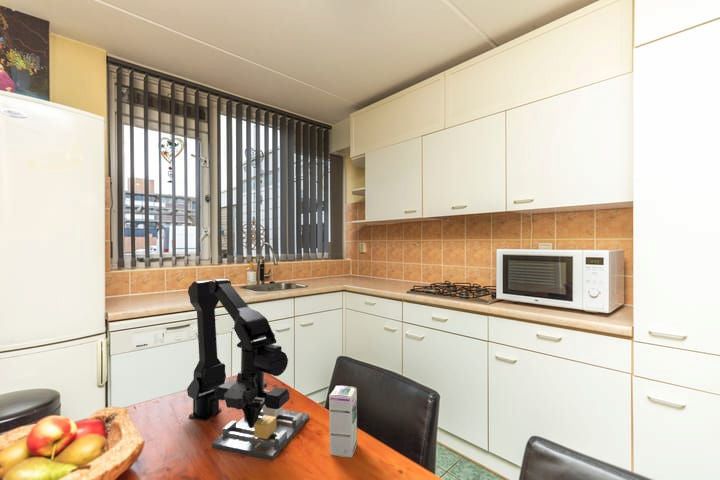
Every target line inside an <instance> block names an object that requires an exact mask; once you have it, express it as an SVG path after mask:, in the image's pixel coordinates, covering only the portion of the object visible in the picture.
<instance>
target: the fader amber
mask: <svg viewBox="0 0 720 480" xmlns="http://www.w3.org/2000/svg"><path fill="white" fill-rule="evenodd" d="M275 430H276V417H273V416H267V415H264V416H263V417H261V418H260V419H259V420H258V421H257V422H256V423H254V437H258V438H263V439H269V438H270V435H271V434H272V433H273V432H274V431H275Z"/></svg>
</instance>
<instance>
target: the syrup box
mask: <svg viewBox="0 0 720 480" xmlns="http://www.w3.org/2000/svg"><path fill="white" fill-rule="evenodd" d="M357 390H358V389H357V387H356V386H351V385H350V386H348V385H335V387H334V388H333V389H332V391H331V393H330V394H329V396H328V398H329V400H328V403H329V404H328V405H329V407H328V409H329V410H328V412H329V413H328V414H329V416H328V417H329V419H328V420H329V421H328V422H329V424H328V425H329V429H328V430H329V455H331V456H335V457H343V458H353V455H354V453H355V451H356V448H357V446H358V402H357V401H358V399H357V398H358V397H357V396H358V393H357V392H358V391H357Z"/></svg>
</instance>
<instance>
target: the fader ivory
mask: <svg viewBox="0 0 720 480" xmlns="http://www.w3.org/2000/svg"><path fill="white" fill-rule="evenodd" d="M283 407H284V405H283V406H282V407H281V408H279V409H271V408H267V407H266V406H265V405H264V406H263V416H264V415H267V416H273V417H276V419H277V416H278V415H279V414H280V413H281V412H282V411H283V410H284V408H283Z"/></svg>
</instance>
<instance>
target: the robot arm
mask: <svg viewBox="0 0 720 480" xmlns="http://www.w3.org/2000/svg"><path fill="white" fill-rule="evenodd" d="M187 292H188V293H187V294H188V297H189V301H190V302H189V303H190V304H191V306H192V307H193V308H194V310H195V311H196V321H197V322H196V323H197V324H196V325H197V339H198V341H197V342H198V359H199V360H198V362H197V364H196V367H195V368H194V370H193V378H192V381H191V382H190V384H189V385H188V386H187V387H186V392H187V393H186V394H187V396H188V397H189V398H191V399H193V401H192V412H191V413H190V414H189V415H188V418H189V419H196V420H201V421H208V420H210V419H211V418H212V417H214V416H215V415H217V414H218V413H220V412H221V411H222V407H220V401H224V402H225V405H226V408H229V409H231V408H232V409H236V410H242V413H243V415H244V414H245V417H246V420H247V422H248V425H249V428H253V427H254V423H256V421H257V419H258V417H259V414H260V412H261V410H262V408H263V406H264V405H265V406H266V407H267V408H271V409H279V408H281V407H282V406H283V407H284V405H285V404H286V403H287V402H288V401H289V400H290V399H291V397H290V395H291V394H290V391H289V389H287V388H284V387H283V388H282V387H276V386H275V387H274V388H272V389H271V390H266V388H267V387H268V386H267V385H268V383H267V382H265V374H267V375H271V376H272V377H279V376H281V375H283V373H285V371H286V369H287V367H288V363H289V358H288V356H287V355H288V354H286V353H285V352H284V351H282V346H281V345H279V344H278V345H275V344H277V339H276V335H275V334H274V331H273V330H272V327H271V325H270V323H269V321H268V319H267V317H266V316H264V315H263V314H262V313H261V312H259V311H257V310H255V309H252V308H251V307H249V305H248V304H247V303H246V302H245V300H244V299H243V298H242V297H241V295H240V294H239V293H238V292H237V290H236V289H235V288H234V287H233V286H232V283H231V280H230V279H228V278H219V279H217V278H216V279H210V280H209V279H208V280H207V279H206V280H196V281H193V282H192V283H191V285H189V287H188V289H187ZM219 303H220V304H221V305H222V306H223V308H224V309H225V311H226V312H227V314H228V315H229V316H230V317H231V319H232V321H233V322H234V324H233V326H234V327H233V330H234V332H235V334H236V336H237V338H238V339H239V340H240V341H239V342H238V343H237V344H236V347H237V348H239V349H241V350H240V351H241V353H240V355H241V356H240V358H241V360H240V371H239V372H237V375H236V381H235V380H230V379H229V380H228V381H226V380H227V379H226V378H227V373H226V364H225V363H222V362H221V360H220V359H219V358H218V345H217V328H216V327H217V325H216V312H215V311H216V308H217V306H218V304H219Z"/></svg>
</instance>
